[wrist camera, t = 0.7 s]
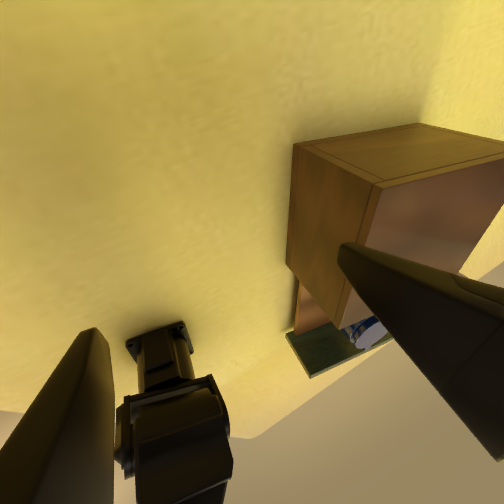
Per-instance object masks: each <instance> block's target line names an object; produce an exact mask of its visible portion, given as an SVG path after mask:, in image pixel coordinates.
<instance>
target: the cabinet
mask: <svg viewBox="0 0 504 504" xmlns="http://www.w3.org/2000/svg"><path fill="white" fill-rule="evenodd" d="M503 204H504V142H503V141H499V140H494V139H490V138H485V137H481V136H476V135H472V134H468V133H463V132H459V131H454V130H450V129H445V128H441V127H436V126H432V125H427V124H423V123H417V124H411V125H405V126H399V127H393V128H387V129H381V130H374V131H368V132H362V133H356V134H350V135H344V136H338V137H332V138H326V139H320V140H314V141H308V142H302V143H296V144H294V147H293V162H292V177H291V192H290V207H289V222H288V237H287V252H286V265H287V266H288V267H289V269H290V270H291V271H292V272H293V274H294V275H295V276H296V277H297V279H298V280H299V281H300V282H301V284H302V285H303V286H304V287H305V289H306V290H307V291H308V292H309V294H310V295H311V296H312V298H313V299H314V300H315V301H316V303H317V304H318V305H319V306H320V308H321V309H322V310H323V311H324V313H325V314H326V315H327V316H328V318H329V319H330V320H331V321H332V323H334V325H335V326H336V328H337V329H338V330H340V329H342V328H345V327H347V326H349V325H352V324H354V323H357V322H359V321H361V320H364V319H366V318H368V317H371V316H373V315H374V314H373V313H372V312H371V311H370V309H369V308H368V307H367V306H366V305H365V303H364V302H363V301H362V300H361V299H360V297H359V296H358V295H357V293H356V292H355V291H354V289H353V288H352V286H351V285H350V283H349V282H348V280H347V279H346V277H345V276H344V274H343V273H342V271H341V270H340V268H339V267H338V265H337V263H336V257H337V252H338V247H339V245H340V244H342V243H345V242H353V243H356V244H359V245H363V246H366V247H369V248H372V249H375V250H379V251H382V252H385V253H388V254H391V255H395V256H398V257H401V258H404V259H408V260H411V261H414V262H417V263H420V264H424V265H427V266H430V267H433V268H436V269H440V270H443V271H446V272H448V273H453V274H456V275H457V273H458V272H459V270H460V269H461V267H462V266H463V264H464V263H465V261H466V260H467V258H468V257H469V255H470V254H471V252H472V251H473V249H474V248H475V246H476V245H477V243H478V242H479V240H480V239H481V237H482V236H483V234H484V233H485V231H486V230H487V228H488V227H489V225H490V224H491V222H492V221H493V219H494V218H495V216H496V215H497V213H498V212H499V210H500V209H501V207H502V206H503Z"/></svg>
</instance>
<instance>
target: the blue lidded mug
mask: <svg viewBox="0 0 504 504" xmlns="http://www.w3.org/2000/svg"><path fill="white" fill-rule="evenodd" d="M341 331H342V332H343V333H344V334H345V335H346V337H347V338H348V339H349V340H350V342H352V343H354V345H355V347H356V348H358V349H362V348H363V350H364V351H365V350H367V349H370V347H371V345H372V344H374V343H375V342H377V341H378V340H380V339H381V338H382V337H383V336H384V335H385V334H386V333H387V332H388V331H387V330H386V329H385V327H384V326H383V325H382V324H381V323H380V321H379V320H378V319H377V318H376V317H375V315H373V316H371V317H368V318H366V319H364V320H361V321H359V322H357V323H354V324H352V325H349V326H347V327H345V328H342V329H341Z"/></svg>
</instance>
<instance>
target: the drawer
mask: <svg viewBox="0 0 504 504" xmlns="http://www.w3.org/2000/svg"><path fill="white" fill-rule="evenodd" d="M285 337H286V339H287V341H288V343H289V344H290V346H291V348H292V349H293V351H294V353H295V354H296V356H297V358H298V360H299V361H300V363H301V365H302V366H303V368H304V370H305V371H306V373H307V375H308V377H309V378H310V379H311V378H313V377H315V376H317V375H319V374H321V373H324V372H326V371H328V370H330V369H332V368H334V367H336V366H338V365H340V364H343V363H345V362H347V361H349V360H351V359H353V358H355V357H357V356H359V355H362V354H364V353H366V352H368V351H370V350H372V349H374V348H376V347H378V346H381V345H383V344H385V343H387V342H389V341H391V340H392V339H393V337H392V336H391V335H390V333H389V332H387V333H386V334H385V335H384V336H383V337H382V338H381V339H380V340H378V341H377V342H375V343H374V344H372V345H371V347H370V349H367V350H365V351H364V350H363V348H362V349H358V348H356V347H355V345H354V343H352V342H350V340H349V339H348V338H347V337H346V335H345V334H344V333H343V332H342V331H341V329H340V330H338V329H337V328H336V326H335V325H334V323H332V321H331V320H330V319H329V318H328V316H327V315H326V314H325V313H324V311H323V310H322V309H321V308H320V306H319V305H318V304H317V303H316V301H315V300H314V299H313V298H312V296H311V295H310V294H309V292H308V291H307V290H306V289H305V287H304V286H303V285H302V284H301V282H300V281H299V290H298V298H297V306H296V315H295V323H294V330H293V331H291V332H288V333H286V335H285Z"/></svg>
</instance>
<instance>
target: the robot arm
mask: <svg viewBox="0 0 504 504" xmlns="http://www.w3.org/2000/svg"><path fill="white" fill-rule="evenodd" d="M336 263H337V265H338V267H339V268H340V270H341V271H342V273H343V274H344V276H345V277H346V279H347V280H348V282H349V283H350V285H351V286H352V288H353V289H354V291H355V292H356V293H357V295H358V296H359V297H360V299H361V300H362V301H363V302H364V303H365V305H366V306H367V307H368V308H369V309H370V311H371V312H372V313H373V314H374V315H375V317H376V318H377V319H378V320H379V321H380V323H381V324H382V325H383V326H384V327H385V329H386V330H387V331H388V332H389V333H390V335H391V336H392V337H393V338H394V339H395V341H396V342H397V343H398V344H399V345H400V346H401V348H402V349H403V350H404V351H405V353H406V354H407V355H408V356H409V357H410V358H411V360H412V361H413V362H414V363H415V365H416V366H417V367H418V368H419V369H420V371H421V372H422V373H423V374H424V375H425V377H426V378H427V379H428V380H429V381H430V383H431V384H432V385H433V386H434V387H435V389H436V390H437V391H438V392H439V394H440V395H441V396H442V397H443V398H444V400H445V401H446V402H447V403H448V404H449V406H450V407H451V408H452V409H453V411H455V413H456V414H457V415H458V417H459V418H460V419H461V420H462V421H463V422H464V424H465V425H466V426H467V427H468V429H469V430H470V431H471V432H472V433H473V435H474V436H475V437H476V438H477V439H478V441H479V442H480V443H481V444H482V445H483V447H484V448H485V449H486V450H487V451H488V453H489V454H490V455H491V456H492V457H493V458H494V459H495V460H496V461H497V462H498V463H500V462H502V461H504V288H501V287H497V286H494V285H490V284H486V283H483V282H479V281H476V280H472V279H469V278H465V277H462V276H459V275H456V274H453V273H448V272H446V271H443V270H440V269H436V268H433V267H430V266H427V265H424V264H420V263H417V262H414V261H411V260H408V259H404V258H401V257H398V256H395V255H391V254H388V253H385V252H382V251H379V250H375V249H372V248H369V247H366V246H363V245H359V244H356V243H353V242H345V243H342V244H340V245H339V247H338V252H337V257H336ZM126 348H127V350H128V351H129V353H130V354H131V356H132V357H133V359H134V360H135V362H136V363H137V370H138V388H139V394H136V395H132V396H130V395H128V396H124V403H123V404H122V405H121V406H119V407H118V408H117V409H116V433H115V447H114V423H115V393H114V382H113V374H112V365H111V356H110V348H109V344H108V342H107V340H106V339H105V338H104V336H103V335H102V334H101V332H100V331H99V330H98V329H97V328H95V327H93V328H90V329H87V330H84V331H82V332H80V333H79V334H78V336H77V337H76V339H75V340H74V342H73V343H72V345H71V346H70V348H69V349H68V351H67V352H66V353H65V355H64V356H63V358H62V359H61V361H60V362H59V364H58V365H57V367H56V368H55V370H54V371H53V373H52V374H51V376H50V377H49V379H48V380H47V382H46V383H45V385H44V386H43V388H42V389H41V391H40V392H39V394H38V395H37V396H36V398H35V399H34V401H33V402H32V404H31V405H30V407H29V408H28V410H27V411H26V413H25V414H24V416H23V417H22V419H21V420H20V422H19V423H18V425H17V426H16V428H15V429H14V431H13V432H12V434H11V435H10V437H9V438H8V440H7V441H6V442H5V444H4V446H3V447H2V448H1V450H0V504H113V499H114V492H113V491H114V460H115V461H117V462H118V463H119V464H121V468H122V470H123V469H124V476H125V480H126V479H128V478H130V477H133V476H135V485H136V503H137V504H223V501H224V496H225V492H226V487H227V481H228V480H230V479H231V477H232V470H233V457H232V454H231V451H230V447H229V442H228V439H229V437H230V422H229V416H228V412H227V408H226V405H225V403H224V400H223V398H222V396H221V394H220V391H219V389H218V387H217V385H216V382H215V380H214V378H213V376H212V374H209V375H207V376H205V377H201V378H197V379H195V375H194V371H193V366H192V362H191V358H190V355H191V354H193V352H194V350H193V347H192V344H191V341H190V338H189V335H188V332H187V329H186V326H185V323H184V322H179V323H176V324H173V325H170V326H167V327H165V328H162V329H159V330H156V331H153V332H150V333H147V334H144V335H141V336H138V337H135V338H132V339H130V340H127V341H126Z"/></svg>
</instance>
